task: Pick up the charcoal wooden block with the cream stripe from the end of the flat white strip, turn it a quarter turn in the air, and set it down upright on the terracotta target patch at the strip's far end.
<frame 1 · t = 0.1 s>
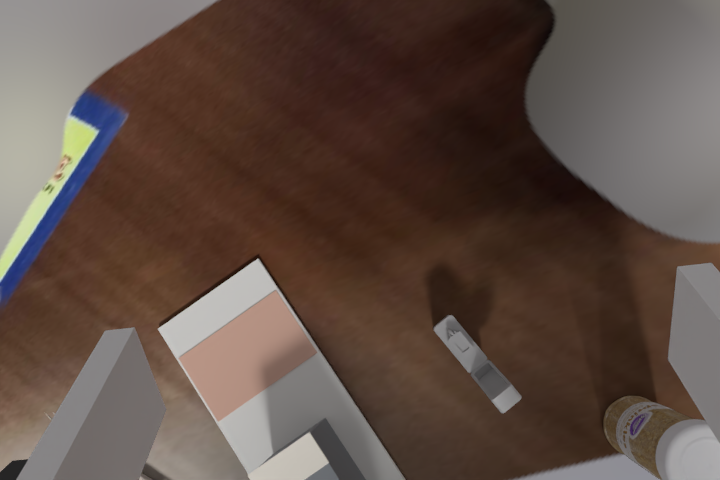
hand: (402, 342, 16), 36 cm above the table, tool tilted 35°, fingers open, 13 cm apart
sprinkles bottle: (631, 425, 49), on the table
lighter: (469, 356, 51), on the table
flat white strip: (286, 413, 52), on the table
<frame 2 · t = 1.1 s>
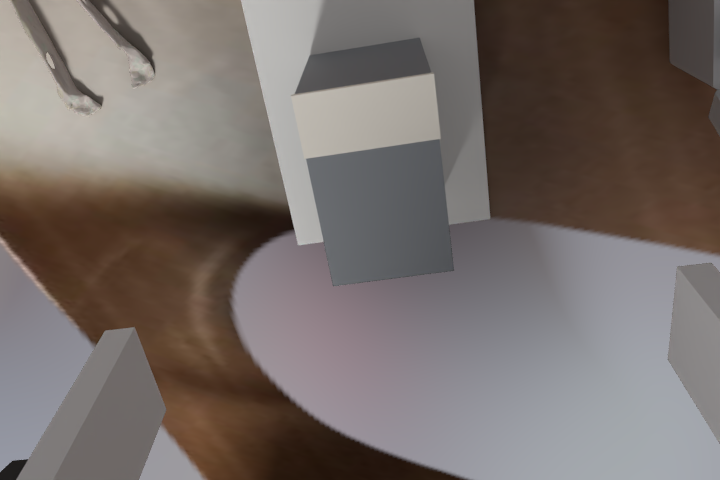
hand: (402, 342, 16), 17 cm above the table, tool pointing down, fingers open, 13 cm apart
lighter: (687, 48, 30), on the table
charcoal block: (377, 131, 31), resting on flat white strip
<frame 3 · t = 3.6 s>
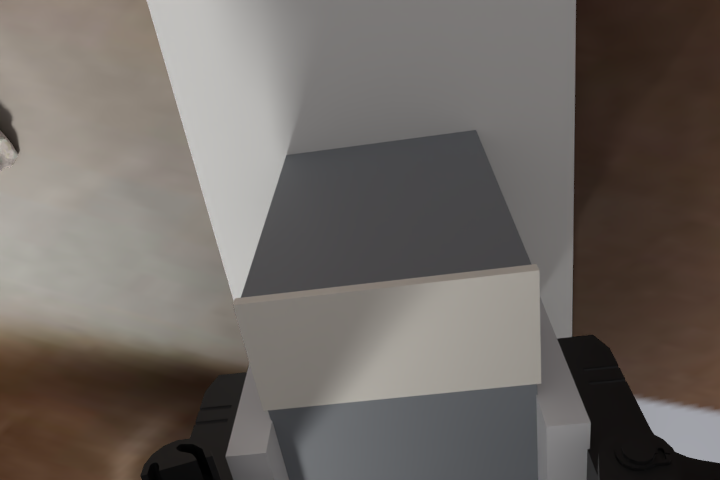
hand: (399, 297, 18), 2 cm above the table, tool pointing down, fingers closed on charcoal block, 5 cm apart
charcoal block: (398, 271, 19), resting on flat white strip, touching gripper
flat white strip: (369, 62, 16), on the table
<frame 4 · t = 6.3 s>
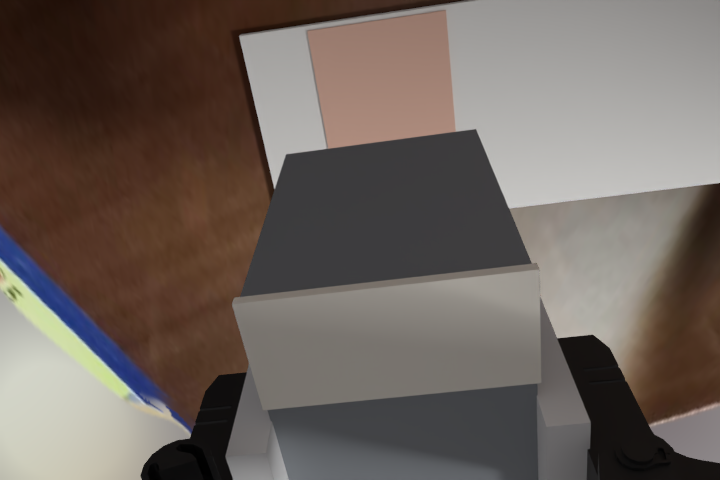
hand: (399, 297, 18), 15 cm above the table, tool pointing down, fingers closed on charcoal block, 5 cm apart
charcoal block: (397, 271, 19), point 13 cm above the table, touching gripper
flat white strip: (507, 107, 30), on the table
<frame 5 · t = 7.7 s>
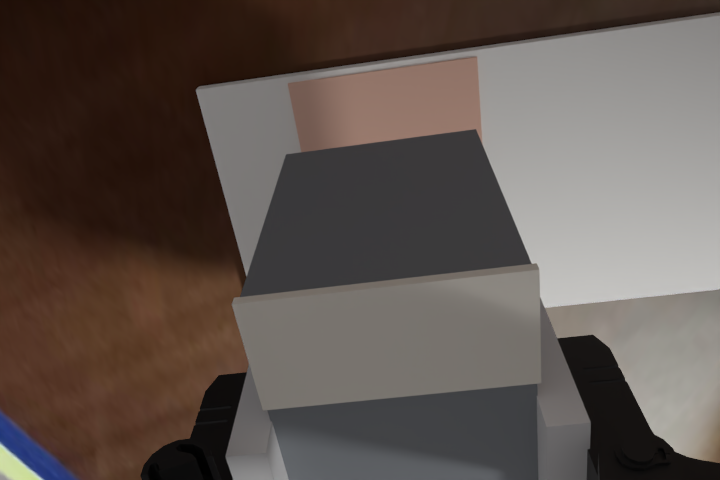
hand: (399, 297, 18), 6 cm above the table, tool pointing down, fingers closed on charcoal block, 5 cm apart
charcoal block: (397, 271, 19), point 5 cm above the table, touching gripper
flat white strip: (555, 181, 23), on the table
when the fingers open (3 cm above the table, at t = 9.0 s): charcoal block drops 1 cm, resting on flat white strip.
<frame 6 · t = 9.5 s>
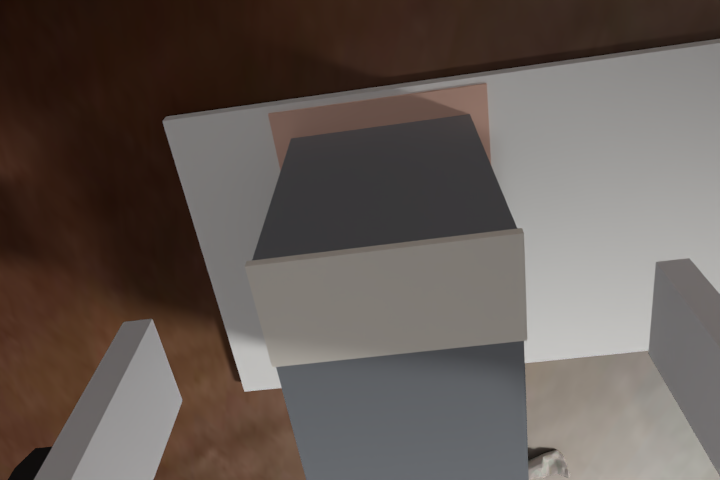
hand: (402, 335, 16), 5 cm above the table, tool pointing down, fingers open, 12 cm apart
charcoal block: (396, 250, 20), resting on flat white strip
flat white strip: (574, 221, 20), on the table
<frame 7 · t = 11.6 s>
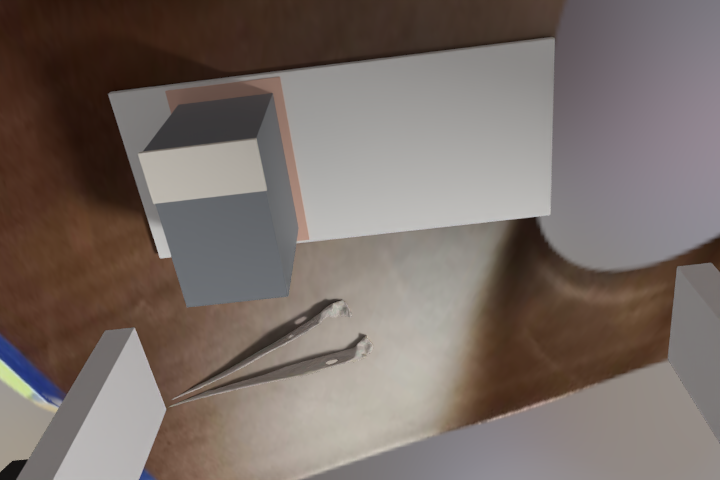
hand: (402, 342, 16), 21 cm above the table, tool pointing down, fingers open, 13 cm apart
tweezers: (246, 364, 44), on the table
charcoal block: (241, 169, 36), resting on flat white strip
flat white strip: (340, 155, 36), on the table
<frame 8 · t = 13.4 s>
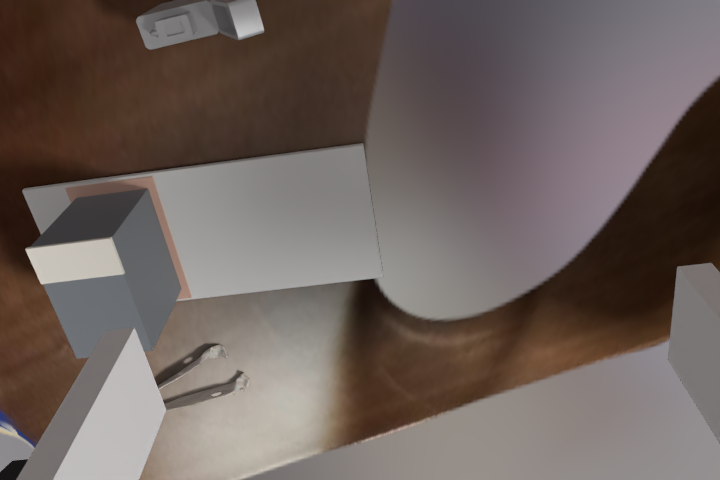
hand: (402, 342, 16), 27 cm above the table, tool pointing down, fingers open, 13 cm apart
tweezers: (151, 395, 53), on the table
lighter: (221, 4, 38), on the table
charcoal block: (130, 245, 45), resting on flat white strip
flat white strip: (209, 232, 45), on the table
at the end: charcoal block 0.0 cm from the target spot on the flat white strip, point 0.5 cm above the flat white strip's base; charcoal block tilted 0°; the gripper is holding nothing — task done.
